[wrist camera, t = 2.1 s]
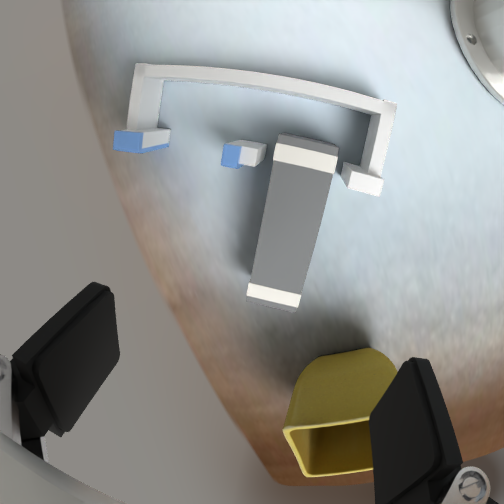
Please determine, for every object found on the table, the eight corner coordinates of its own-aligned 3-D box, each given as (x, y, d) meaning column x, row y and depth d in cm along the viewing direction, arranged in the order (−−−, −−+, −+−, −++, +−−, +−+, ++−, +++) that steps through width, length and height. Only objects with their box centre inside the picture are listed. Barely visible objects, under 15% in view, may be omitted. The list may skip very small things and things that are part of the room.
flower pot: (393, 390, 27) (406, 464, 18) (310, 405, 29) (304, 479, 21) (391, 325, 24) (413, 407, 16) (291, 344, 26) (280, 428, 18)
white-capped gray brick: (282, 132, 19) (277, 134, 16) (334, 144, 19) (339, 148, 16) (253, 277, 24) (245, 301, 21) (298, 287, 24) (295, 313, 21)
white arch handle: (156, 68, 19) (124, 60, 15) (384, 106, 17) (404, 102, 13) (145, 144, 21) (112, 151, 17) (365, 187, 20) (379, 203, 16)
